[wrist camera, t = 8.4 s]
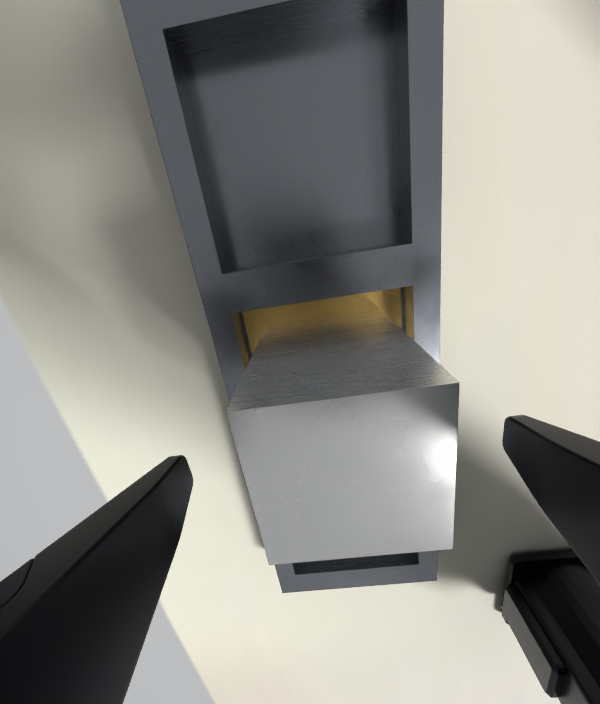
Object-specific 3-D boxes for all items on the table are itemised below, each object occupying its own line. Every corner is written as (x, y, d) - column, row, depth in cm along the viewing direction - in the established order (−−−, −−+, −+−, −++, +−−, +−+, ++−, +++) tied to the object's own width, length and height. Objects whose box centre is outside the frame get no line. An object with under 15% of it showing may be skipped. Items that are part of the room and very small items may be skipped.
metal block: (379, 308, 13) (459, 382, 6) (386, 408, 14) (452, 548, 8) (266, 325, 13) (225, 412, 6) (285, 421, 15) (269, 564, 8)
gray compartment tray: (417, -46, 9) (445, -118, 7) (423, 546, 19) (437, 580, 17) (146, 17, 10) (110, -35, 8) (284, 558, 19) (282, 593, 18)
